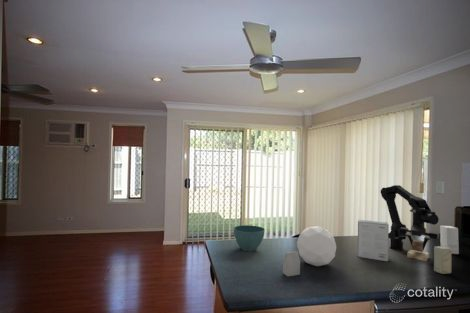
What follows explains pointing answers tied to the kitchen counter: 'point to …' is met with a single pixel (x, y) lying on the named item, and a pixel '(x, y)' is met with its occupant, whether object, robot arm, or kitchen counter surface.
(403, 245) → the robot arm
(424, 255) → the oak block
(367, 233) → the hard drive box
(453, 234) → the skincare box
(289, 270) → the grey upright block
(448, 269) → the skincare box
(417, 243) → the wooden cube
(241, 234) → the plant pot
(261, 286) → the kitchen counter surface
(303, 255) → the ball
